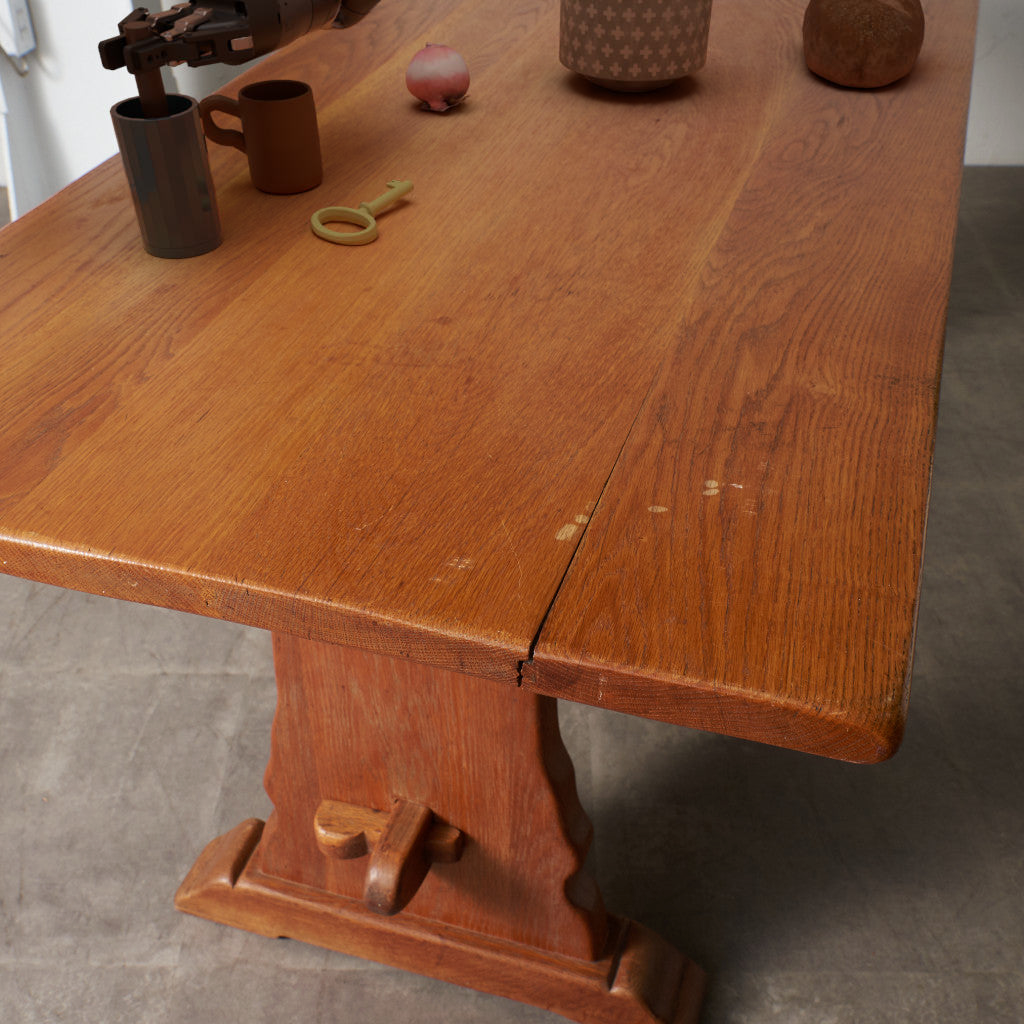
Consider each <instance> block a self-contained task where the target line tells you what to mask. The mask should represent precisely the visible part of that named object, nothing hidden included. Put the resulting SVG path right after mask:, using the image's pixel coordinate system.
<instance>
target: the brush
mask: <svg viewBox="0 0 1024 1024" xmlns="http://www.w3.org/2000/svg"><path fill="white" fill-rule="evenodd" d="M123 29H124V33H125V38H126V42H127V45H130V44H133V43H136V42H139V41H142V40H144V39H148V38H150V37H153V34H152V29H151V25H150V23H148V22H144V21H137V22H130V23H126V24H124V25H123ZM134 80H135V84H136V89H137V93H138V96H139V97H140V102H141V106H142V110H143V115H144V119H154V118H162V117H169V116H170V112H169V108H168V103H167V98H166V94H165V93H166V89H165V84H164V81H163V76H162V71H161V67H159V68H157V69H154V70H151V71H149V72H146V73H143V74H141V75H134Z"/></svg>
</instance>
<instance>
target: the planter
mask: <svg viewBox="0 0 1024 1024" xmlns="http://www.w3.org/2000/svg"><path fill="white" fill-rule="evenodd" d="M713 2H714V1H713V0H560V5H559V6H560V7H559V38H558V39H559V40H558V44H559V45H558V60H559V63H560V64H561V65H562V66H563V67H564V68H566V69H568V70H570V71H573V72H575V73H577V74H580V75H581V76H583V78H585V79H587V80H588V81H590V82H591V83H593V84H595V85H597V86H599V87H602V88H604V89H607V90H610V91H613V92H614V91H615V92H621V93H644V92H650V91H651V92H652V91H655V90H657V89H661V88H664V87H666V86H669V85H670V84H672V83H674V82H676V81H677V80H679V79H680V78H683V77H686V76H690V75H692V74H696V73H697V72H699V71H700V70H702V69H703V68H704V67H705V66H706V62H707V54H708V46H709V37H710V27H711V19H712V11H713V10H712V9H713Z"/></svg>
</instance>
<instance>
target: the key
mask: <svg viewBox="0 0 1024 1024" xmlns="http://www.w3.org/2000/svg"><path fill="white" fill-rule="evenodd" d="M385 185H386V188H387V189H390V190H388V191H387V192H385V193H383V194H381V195H380V196H378V197H376V198H375V199H373V200H372V201H369V202H366V201H363V202H360V203H359V205H358V209H357V208H351V207H348V206H347V207H346V206H327V207H324V208H321V209H318V210H317V211H315V212H314V213H313V214H312V215H311V217H310V228H311V229H312V231H313V232H314V234H315V235H316V236H318V237H319V238H321V239H323V240H326V241H329V242H333V243H336V244H340V245H347V246H348V245H349V246H361V245H367V244H369V243H371V242H373V241H375V240H376V238H377V237H378V233H379V232H378V231H379V230H378V224H377V221H376V220H375V218H376V214H378V213H379V212H381V211H383V210H384V209H386V208H387V207H389V206H390V205H392V204H394V203H395V202H397V201H399V200H400V199H402V198H403V197H405V196H407V195H408V194H410V193H411V192H413V191H414V189H415V188H414V187H415V186H414V184H413V182H412V181H411V180H409V179H406V180H404V181H400V180H397V179H392V180H391V181H389V182H387V183H385ZM333 221H343V222H347V223H348V222H349V223H353V224H357V225H359V226H362V227H363V228H365V229H363V230H360V231H356V232H340V231H334V230H331V229H329V228H327V227H325V226H324V225H323V224H325V223H329V222H333Z"/></svg>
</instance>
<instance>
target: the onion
mask: <svg viewBox="0 0 1024 1024" xmlns="http://www.w3.org/2000/svg"><path fill="white" fill-rule="evenodd" d="M405 84H406V85H405V86H406V89H407V91H408V92H409V93H410V94H411V95H412V96H413V97H415V98H416V99H417V100H419V101H421V102H423V104H422V105H421V107H420V109H422V110H426V111H435V112H444V111H446V110H447V109H449V108H451V107H455V106H457V105H458V104H461V103H462V102H464V101H466V100H467V98H469V97H471V95H470V94H468V95H467V93H468V91H469V88H470V85H471V76H470V71H469V68H468V64H467V62H466V60H465V59H464V57H463V56H462V55H461V54H460V53H459V52H458V51H457V50H456V49H454V48H452V47H451V46H449V45H447V44H444V43H442V42H438V43H432V42H426V43H425V47H423V48H422V49H420V50H419V51H418V52H416V53H415V54H414V56H413V57H412V58H411V60H410V61H409V63H408V66H407V68H406V72H405ZM459 100H460V101H459ZM450 101H453V102H455V104H453V105H449V104H448V103H450ZM457 101H459V102H457ZM456 102H457V103H456Z"/></svg>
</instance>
